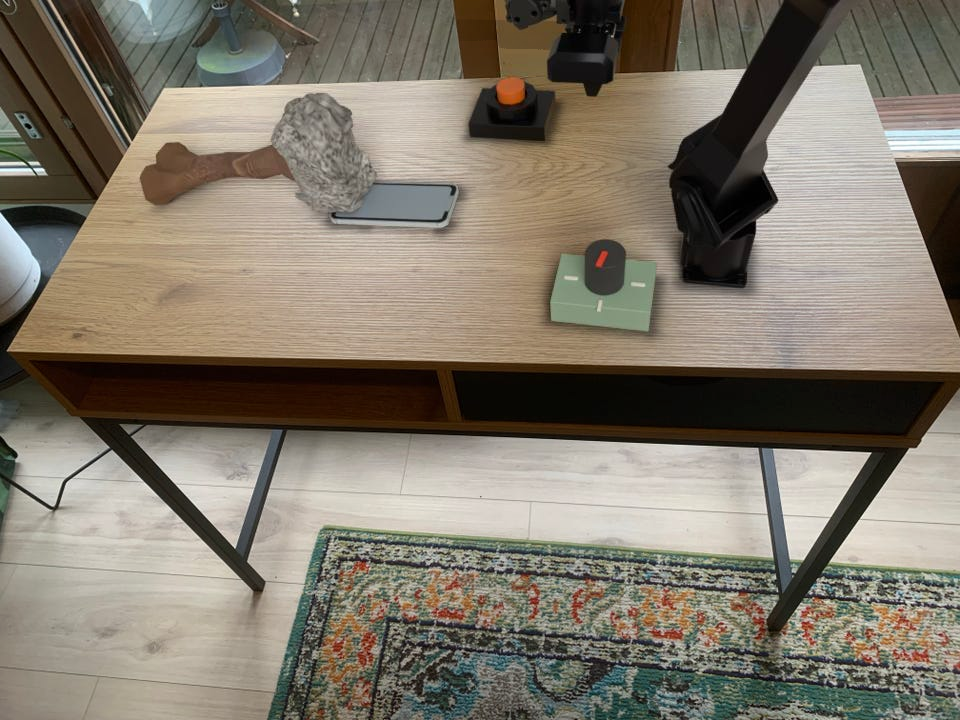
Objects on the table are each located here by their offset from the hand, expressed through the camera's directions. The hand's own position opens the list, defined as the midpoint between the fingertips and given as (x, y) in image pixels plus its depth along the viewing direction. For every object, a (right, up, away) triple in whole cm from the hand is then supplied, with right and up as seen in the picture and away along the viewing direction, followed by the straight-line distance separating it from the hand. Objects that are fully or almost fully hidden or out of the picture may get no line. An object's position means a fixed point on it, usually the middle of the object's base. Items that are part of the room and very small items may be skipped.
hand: (592, 94), depth 80 cm
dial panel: (+1, -23, -2) cm, 23 cm away
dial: (+1, -21, -5) cm, 21 cm away
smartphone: (-23, -10, +11) cm, 27 cm away
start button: (-8, +5, +16) cm, 19 cm away
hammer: (-39, -8, +14) cm, 42 cm away
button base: (-8, +3, +19) cm, 20 cm away
